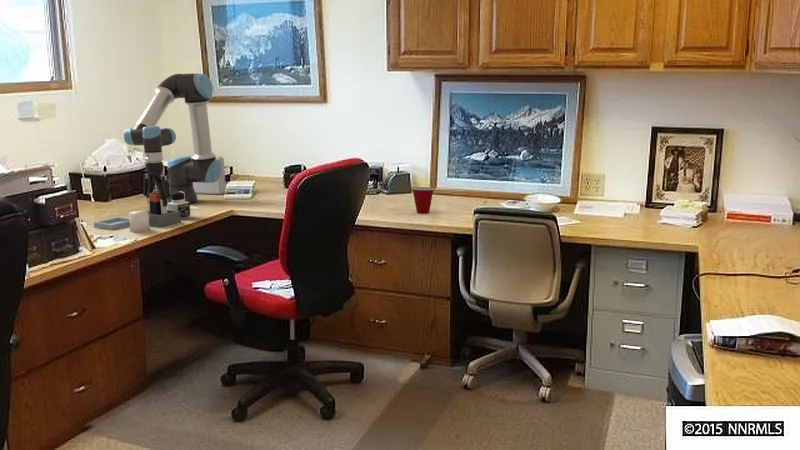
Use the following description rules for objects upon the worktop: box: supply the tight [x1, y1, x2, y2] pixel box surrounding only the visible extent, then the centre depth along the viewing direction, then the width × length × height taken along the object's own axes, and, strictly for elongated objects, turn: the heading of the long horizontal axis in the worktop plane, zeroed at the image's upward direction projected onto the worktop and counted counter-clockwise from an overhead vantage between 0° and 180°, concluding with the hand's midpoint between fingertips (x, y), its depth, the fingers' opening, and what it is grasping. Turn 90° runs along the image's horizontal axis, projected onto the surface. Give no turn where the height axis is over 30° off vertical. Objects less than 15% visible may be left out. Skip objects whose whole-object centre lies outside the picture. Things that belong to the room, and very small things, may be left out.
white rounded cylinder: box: [128, 209, 151, 233], centre depth 325 cm, size 8×8×8 cm
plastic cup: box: [411, 186, 435, 215], centre depth 354 cm, size 11×11×12 cm
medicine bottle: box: [167, 191, 191, 220], centre depth 349 cm, size 7×7×12 cm
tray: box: [93, 216, 130, 231], centre depth 335 cm, size 13×12×2 cm
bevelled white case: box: [190, 155, 227, 195], centre depth 409 cm, size 21×8×20 cm, turn 77°
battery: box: [149, 190, 161, 215], centre depth 337 cm, size 4×7×10 cm, turn 46°
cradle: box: [146, 209, 182, 228], centre depth 338 cm, size 12×15×5 cm
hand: (158, 212), depth 338 cm, fingers closed on battery, 7 cm apart
